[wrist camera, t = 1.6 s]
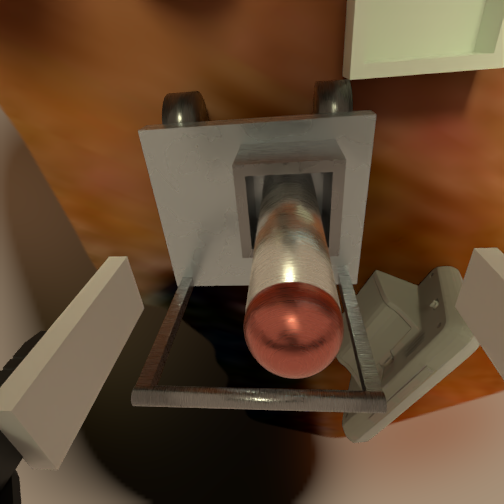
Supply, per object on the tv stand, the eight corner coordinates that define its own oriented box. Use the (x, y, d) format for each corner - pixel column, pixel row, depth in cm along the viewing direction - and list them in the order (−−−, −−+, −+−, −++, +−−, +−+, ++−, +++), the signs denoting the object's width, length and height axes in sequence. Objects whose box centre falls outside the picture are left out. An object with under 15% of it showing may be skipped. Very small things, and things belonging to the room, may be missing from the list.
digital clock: (361, 367, 39) (384, 462, 30) (301, 335, 37) (307, 427, 28) (480, 281, 31) (558, 376, 22) (412, 234, 29) (469, 318, 20)
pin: (261, 163, 20) (232, 325, 9) (314, 160, 20) (357, 326, 8) (264, 210, 22) (243, 399, 10) (312, 208, 22) (347, 401, 10)
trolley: (165, 90, 24) (-2, 156, 10) (356, 74, 23) (479, 126, 9) (198, 257, 32) (131, 425, 18) (342, 254, 31) (393, 435, 17)
